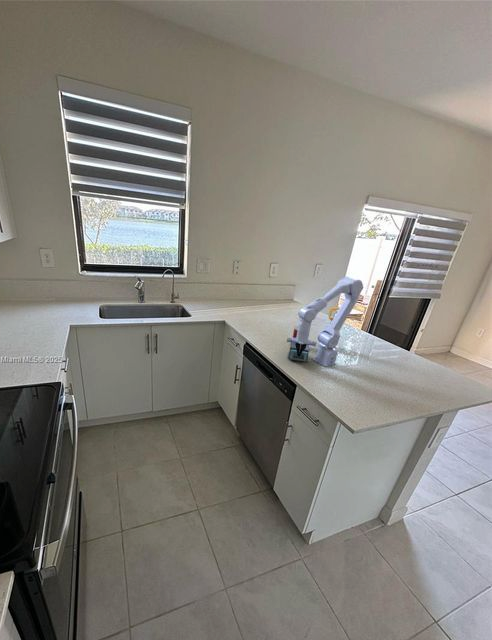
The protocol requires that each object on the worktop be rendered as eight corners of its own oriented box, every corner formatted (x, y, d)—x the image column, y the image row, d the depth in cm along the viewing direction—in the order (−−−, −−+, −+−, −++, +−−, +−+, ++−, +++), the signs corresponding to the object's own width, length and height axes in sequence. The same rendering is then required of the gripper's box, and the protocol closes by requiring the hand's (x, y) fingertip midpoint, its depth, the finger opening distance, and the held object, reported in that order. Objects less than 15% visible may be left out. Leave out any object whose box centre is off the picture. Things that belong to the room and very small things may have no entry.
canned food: (301, 349, 168) (305, 331, 163) (289, 345, 172) (292, 328, 167) (306, 345, 173) (310, 328, 169) (294, 342, 177) (297, 325, 173)
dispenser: (306, 361, 152) (309, 350, 149) (288, 358, 154) (290, 347, 151) (306, 355, 160) (309, 344, 158) (289, 352, 162) (291, 341, 160)
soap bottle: (335, 350, 169) (346, 310, 159) (319, 348, 171) (329, 308, 160) (333, 345, 177) (343, 306, 167) (318, 343, 179) (327, 304, 168)
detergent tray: (305, 364, 146) (307, 356, 144) (289, 361, 148) (290, 353, 146) (305, 355, 158) (307, 347, 156) (290, 352, 159) (291, 344, 157)
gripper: (288, 332, 141) (283, 357, 147) (318, 336, 138) (312, 362, 143) (289, 327, 147) (284, 352, 153) (318, 332, 144) (312, 357, 150)
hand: (298, 356), depth 149 cm, fingers closed, pressing on detergent tray
